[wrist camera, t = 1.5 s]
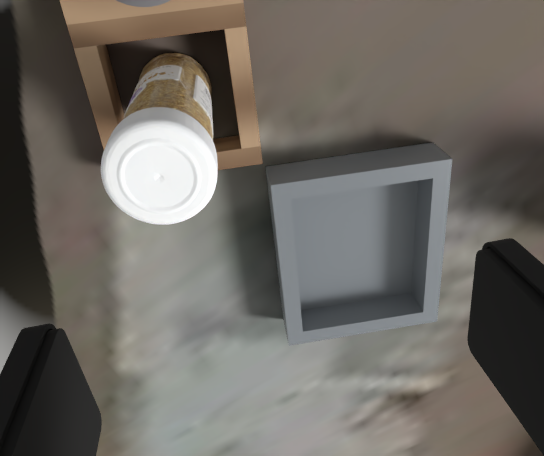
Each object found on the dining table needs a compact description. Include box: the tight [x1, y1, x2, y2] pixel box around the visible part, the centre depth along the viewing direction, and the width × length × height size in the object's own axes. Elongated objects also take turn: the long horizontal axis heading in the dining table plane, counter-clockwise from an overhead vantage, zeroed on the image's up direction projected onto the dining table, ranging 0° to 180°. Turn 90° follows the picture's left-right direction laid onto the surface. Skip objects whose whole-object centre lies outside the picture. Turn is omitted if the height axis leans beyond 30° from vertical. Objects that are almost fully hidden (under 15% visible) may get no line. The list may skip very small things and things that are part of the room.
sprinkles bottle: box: [101, 53, 218, 224], centre depth 25 cm, size 5×5×14 cm
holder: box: [60, 0, 263, 170], centre depth 27 cm, size 16×9×5 cm, turn 6°
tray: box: [265, 143, 452, 345], centre depth 36 cm, size 14×12×3 cm
